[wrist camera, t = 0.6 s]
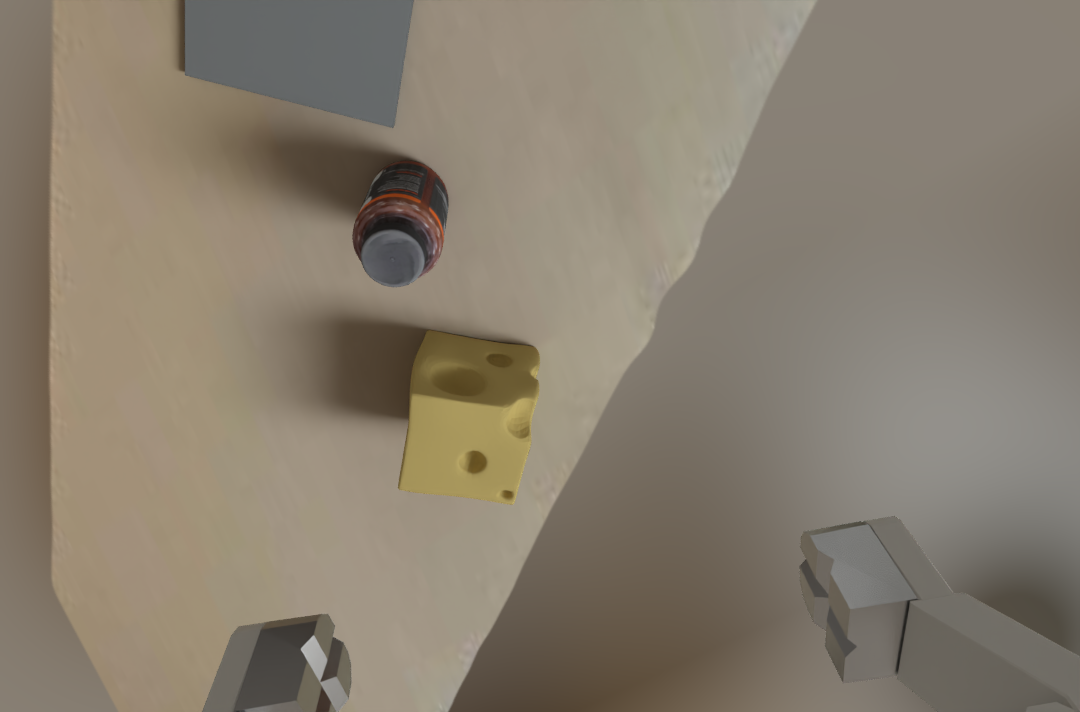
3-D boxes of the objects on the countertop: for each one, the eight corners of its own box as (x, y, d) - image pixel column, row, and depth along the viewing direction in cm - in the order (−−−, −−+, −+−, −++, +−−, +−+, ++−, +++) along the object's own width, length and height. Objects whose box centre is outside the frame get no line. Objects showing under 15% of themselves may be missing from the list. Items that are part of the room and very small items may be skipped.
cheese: (538, 343, 60) (546, 412, 51) (512, 437, 65) (515, 514, 57) (420, 323, 58) (408, 390, 50) (403, 421, 64) (390, 497, 55)
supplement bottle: (355, 177, 51) (324, 236, 42) (426, 145, 50) (410, 197, 41) (395, 245, 54) (374, 314, 45) (462, 215, 53) (456, 279, 44)
